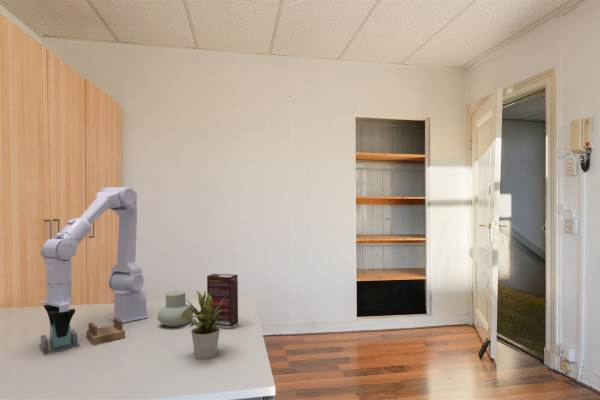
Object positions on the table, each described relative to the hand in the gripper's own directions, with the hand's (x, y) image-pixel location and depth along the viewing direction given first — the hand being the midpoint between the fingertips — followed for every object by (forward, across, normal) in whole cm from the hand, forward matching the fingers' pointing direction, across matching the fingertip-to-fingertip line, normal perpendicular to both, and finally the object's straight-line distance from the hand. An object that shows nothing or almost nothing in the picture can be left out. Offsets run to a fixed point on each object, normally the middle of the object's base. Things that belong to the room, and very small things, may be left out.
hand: (59, 332), depth 101 cm
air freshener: (+4, +4, +31) cm, 31 cm away
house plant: (+4, +31, +26) cm, 41 cm away
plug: (+3, 0, 0) cm, 3 cm away
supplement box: (+4, +16, +41) cm, 44 cm away
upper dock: (+3, +2, +11) cm, 12 cm away
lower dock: (+3, 0, 0) cm, 3 cm away
